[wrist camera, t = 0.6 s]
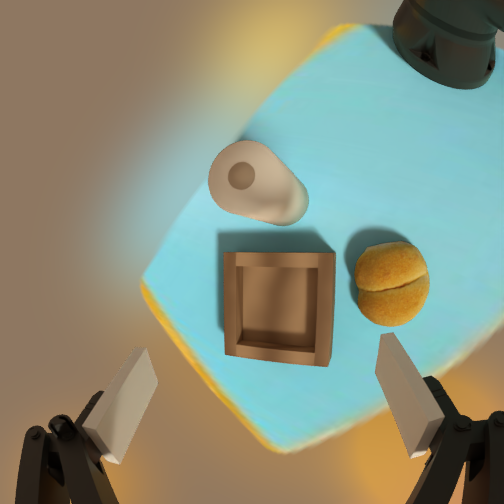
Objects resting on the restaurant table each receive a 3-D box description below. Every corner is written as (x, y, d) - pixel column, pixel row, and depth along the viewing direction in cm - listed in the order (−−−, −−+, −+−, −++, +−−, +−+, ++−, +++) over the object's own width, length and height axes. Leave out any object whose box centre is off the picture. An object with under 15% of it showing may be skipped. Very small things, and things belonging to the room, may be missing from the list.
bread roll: (361, 327, 30) (360, 338, 26) (350, 249, 31) (349, 248, 27) (430, 316, 27) (438, 324, 23) (421, 236, 28) (428, 234, 24)
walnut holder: (335, 252, 31) (332, 253, 28) (331, 356, 31) (327, 366, 28) (235, 252, 35) (223, 252, 32) (236, 346, 35) (224, 354, 32)
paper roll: (308, 174, 32) (277, 135, 21) (309, 225, 32) (278, 212, 21) (258, 177, 34) (208, 145, 23) (259, 226, 34) (206, 215, 23)
